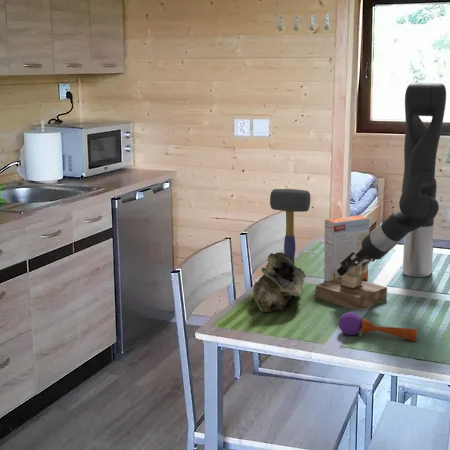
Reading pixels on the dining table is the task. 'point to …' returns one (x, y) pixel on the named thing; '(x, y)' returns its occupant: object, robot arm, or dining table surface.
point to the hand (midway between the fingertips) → (348, 270)
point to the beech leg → (352, 278)
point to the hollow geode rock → (278, 283)
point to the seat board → (351, 294)
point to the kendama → (372, 327)
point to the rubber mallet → (290, 212)
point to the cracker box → (343, 243)
